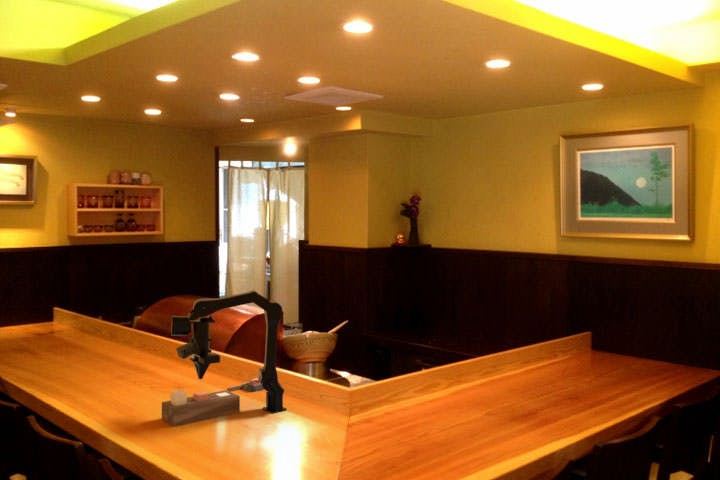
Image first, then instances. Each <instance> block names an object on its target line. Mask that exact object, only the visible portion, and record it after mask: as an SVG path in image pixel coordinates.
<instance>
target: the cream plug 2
mask: <svg viewBox="0 0 720 480" xmlns="http://www.w3.org/2000/svg"><path fill="white" fill-rule="evenodd" d="M215 395H216V396H218V397H226V396H231V395H230V394H228V393H226V392H224V393H219V394H215Z"/></svg>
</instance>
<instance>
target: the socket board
mask: <svg viewBox="0 0 720 480" xmlns="http://www.w3.org/2000/svg"><path fill="white" fill-rule="evenodd" d="M224 392H226V393H228V394H230V395H231V396H226V397H218V396H216V395H215V394H219V393H224ZM240 397H241V396H240V395H238V394H235V393H233V392H231V391H230V390H229V391H228V390H227V389H226V390H221V391H220V390H219V391H216V392H209V400H205V401H199V402H198V401H196V400H194V397H193V396H188V397H187V404H184V405H179V406H174V405H172V404H171V400H167V401H162V402H161V420H163V421H164V422H166V423H168V424H169V425H171V426H172V425H173V427H179V426H183V425H187V424H192V423H197V422H201V421H206V420H212V419H216V418H220V417H226V416H230V415H235V414H240V413H241V412H240V411H241V407H240V405H241V404H240V403H241V402H240V401H241V399H240ZM178 425H179V426H178Z"/></svg>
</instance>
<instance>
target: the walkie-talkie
mask: <svg viewBox="0 0 720 480" xmlns="http://www.w3.org/2000/svg"><path fill="white" fill-rule="evenodd" d="M238 389H244V390H246V391H249V392H252V393H256V391H257V392H260V390H261V391H264V390H263V389H264V388H263V387H262V385H261V383H260V381H259V379H258V377H257V378H252V379H250V380H249V381H247V382H242V384H240V385H237V386H232V387H228V388H226V390H227V391H229V392H230V391H233V390H238Z"/></svg>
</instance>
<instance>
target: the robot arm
mask: <svg viewBox="0 0 720 480" xmlns="http://www.w3.org/2000/svg"><path fill="white" fill-rule="evenodd" d="M252 303H253V304H254V305H256V306H258V307H259V308H261V309H262V310H263V313H264V314H263V315H264V321H265V325H266V330H265V348H264V363H263V366H262V368H260V367H259V368H258V374H259V375H258V376H257V378H258V379H259V381H260V383H261V385H262V387H263V388H264V389H265V390H264V391H266V393H265V394H266V396H265V406H264V407H262V410H264V411H267V412H268V413H270V414H274V413H278V412H283V411H287V408H285V407H284V401H283V400H284V399H283V398H284V393H285V389H284V388H283V386H282V385H281V383H279V380H278V372H277V366H276V363H277V347H278V346H277V344H278V328H279V324H280V322H281V320H282V314H283V308H282V305H281V304H280V303H279V302H278V301H276V300H273V299H272V300H271V299H270V300H269V299H267V298H266V297H265V296H263V295H261V294H260V293H259V292H257V291H256V290H250V291H247V292H242V293H238V294H233V295H228V296H224V297H220V298H218V297H217V298H216V297H215V298H212V297H211V298H210V297H209V298H207V297H206V298H205V297H204V298H198V299H196V300H195V301H194V302H193V304H192V309H191V310H190V312H189V313H188V314H187V316H178V315H172V316H171V325H170V327H171V328H170V329H171V330H170V332H171V333H170V335H171V336H172V337H173V336H174V337H176V336H180V337H181V336H188V335H189V334H190V333H192V337H190V338H189V342H187V343H184V344H182V345H181V346H179V347H177V348H176V349H175V350H176V353H177V355H178V358H181V359H183V360H185V359H187V358H188V357H190V358H189V361H190V362H192V363H193V365H194V367H195V368H194V369H195V372H196V374H197V378H198V380H202V379H204V376H205V375H206V372H207V370H208V369H209V367H210V365H212V364H218V363H221V356H220V354H218V353H216V352H212V349H211V348H210V342H212V341H213V340H212V337H210V331H211V330H210V326H211V325H210V324H211V323H213V324H214V323H216V320H215V319H214V318H213V317H212V314H214V313H216V312H218V311H221V310H223V309H224V310H225V309H229V308H234V307H238V306H243V305H248V304H252Z"/></svg>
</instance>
